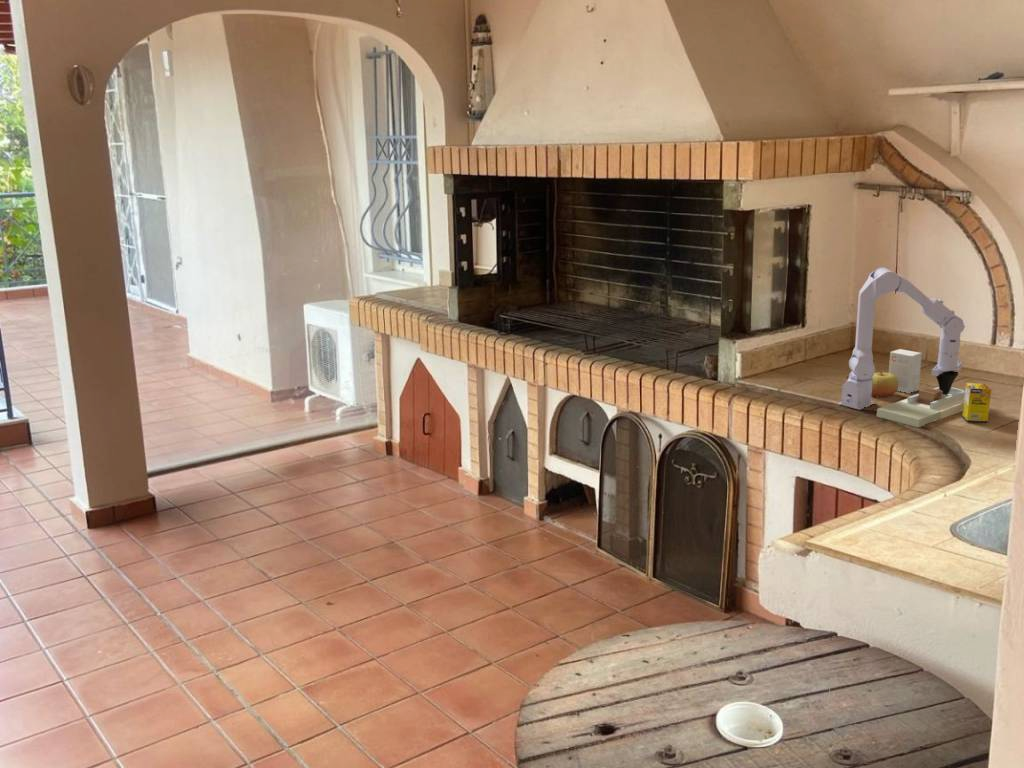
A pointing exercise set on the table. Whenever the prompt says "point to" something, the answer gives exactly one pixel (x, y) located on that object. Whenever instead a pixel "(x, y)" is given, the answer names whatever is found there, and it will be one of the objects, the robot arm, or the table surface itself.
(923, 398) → the block
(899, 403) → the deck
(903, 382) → the small box
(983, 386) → the supplement box
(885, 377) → the apple
